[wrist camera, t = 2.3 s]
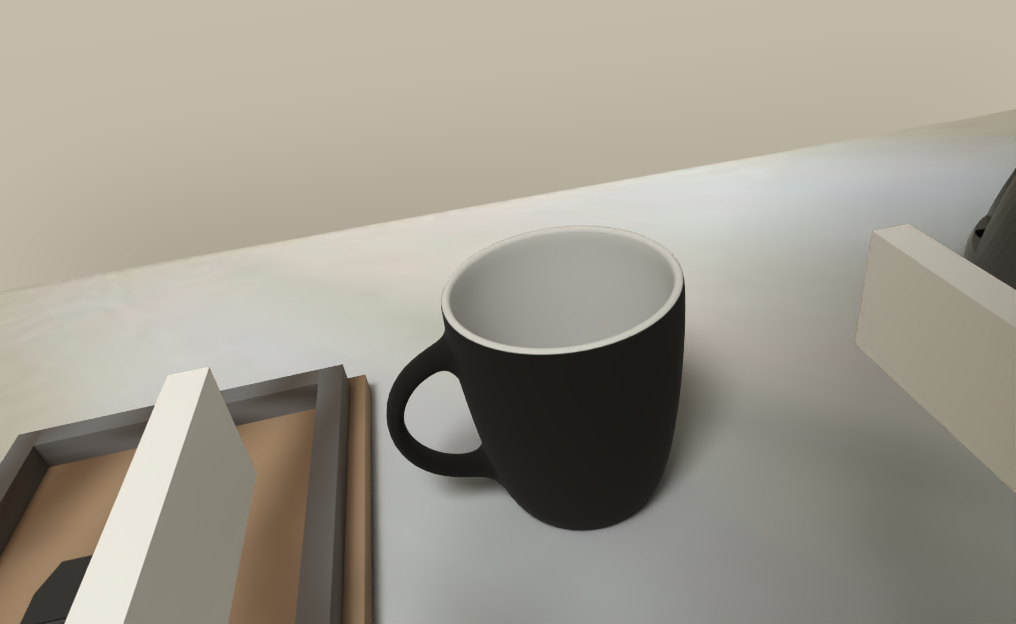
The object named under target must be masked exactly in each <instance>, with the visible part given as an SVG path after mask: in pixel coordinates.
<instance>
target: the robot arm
mask: <svg viewBox="0 0 1016 624" xmlns="http://www.w3.org/2000/svg"><path fill="white" fill-rule="evenodd" d="M855 344H856V345H857V346H858V347H859V348H860V349H861V350H862V351H863V352H864V353H865V354H866V355H868V356H869V357H870V358H871V359H872V360H873V361H874V362H875V363H876V364H877V365H878V366H879V367H880V368H881V369H883V370H884V371H885V372H886V373H887V374H888V375H889V376H890V377H891V378H892V379H893V380H894V381H895V382H896V383H898V384H899V385H900V386H901V387H902V388H903V389H904V390H905V391H906V392H907V393H908V394H909V395H910V396H911V397H913V398H914V399H915V400H916V401H917V402H918V403H919V404H920V405H921V406H922V407H923V408H924V409H925V410H926V411H928V412H929V413H930V414H931V415H932V416H933V417H934V418H935V419H936V420H937V421H938V422H939V423H940V424H942V425H943V426H944V427H945V428H946V429H947V430H948V431H949V432H950V433H951V434H952V435H953V436H954V437H955V438H957V439H958V440H959V441H960V442H961V443H962V444H963V445H964V446H965V447H966V448H967V449H968V450H969V451H970V452H972V453H973V454H974V455H975V456H976V457H977V458H978V459H979V460H980V461H981V462H982V463H983V464H984V465H985V466H987V467H988V468H989V469H990V470H991V471H992V472H993V473H994V474H995V475H996V476H997V477H998V478H999V479H1000V480H1002V481H1003V482H1004V483H1005V484H1006V485H1007V486H1008V487H1009V488H1010V489H1011V490H1012V491H1013V492H1014V493H1015V494H1016V169H1015V170H1014V172H1013V173H1012V174H1011V176H1010V177H1009V179H1008V180H1007V182H1006V183H1005V185H1004V186H1003V188H1002V190H1001V191H1000V193H999V194H998V196H997V198H996V199H995V201H994V203H993V204H992V206H991V208H990V210H989V212H988V214H987V215H986V216H985V217H983V218H982V219H981V220H980V221H979V223H978V224H977V225H976V227H975V228H974V229H973V231H972V233H971V235H970V237H969V239H968V241H967V244H966V247H965V252H964V256H963V257H961V256H960V255H958V254H957V253H955V252H953V251H952V250H950V249H949V248H947V247H945V246H944V245H942V244H940V243H939V242H937V241H936V240H934V239H932V238H931V237H929V236H927V235H926V234H924V233H923V232H921V231H919V230H918V229H916V228H915V227H913V226H911V225H910V224H904V225H900V226H895V227H890V228H885V229H880V230H875V231H872V237H871V244H870V250H869V256H868V263H867V269H866V276H865V282H864V288H863V295H862V301H861V308H860V314H859V321H858V327H857V333H856V340H855ZM256 475H257V473H256V471H255V468H254V466H253V464H252V462H251V459H250V457H249V455H248V453H247V450H246V448H245V446H244V444H243V442H242V439H241V437H240V435H239V433H238V430H237V428H236V426H235V424H234V421H233V419H232V417H231V415H230V412H229V410H228V408H227V406H226V404H225V401H224V399H223V397H222V395H221V392H220V390H219V388H218V386H217V383H216V381H215V379H214V377H213V374H212V372H211V370H210V368H209V367H206V368H201V369H196V370H192V371H187V372H182V373H177V374H172V375H167V378H166V380H165V382H164V385H163V387H162V390H161V392H160V395H159V397H158V399H157V402H156V404H155V407H154V409H153V411H152V414H151V416H150V419H149V421H148V423H147V426H146V428H145V431H144V433H143V436H142V438H141V440H140V443H139V445H138V448H137V450H136V452H135V455H134V457H133V460H132V462H131V464H130V467H129V469H128V472H127V474H126V477H125V479H124V481H123V484H122V486H121V489H120V491H119V493H118V496H117V498H116V501H115V503H114V505H113V508H112V510H111V513H110V515H109V518H108V520H107V522H106V525H105V527H104V530H103V532H102V534H101V537H100V539H99V542H98V544H97V546H96V549H95V551H94V554H93V555H89V556H85V557H80V558H76V559H71V560H67V561H62V562H61V563H60V565H59V566H58V567H57V568H56V569H55V570H54V572H53V573H52V574H51V575H50V576H49V577H48V578H47V580H46V581H45V582H44V583H43V584H42V585H41V587H40V588H39V589H38V590H37V591H36V592H35V593H34V595H33V597H32V599H31V601H30V604H29V606H28V608H27V610H26V612H25V614H24V616H23V618H22V620H21V623H20V624H228V621H229V616H230V610H231V605H232V600H233V595H234V589H235V584H236V579H237V574H238V569H239V563H240V558H241V553H242V548H243V543H244V537H245V532H246V527H247V522H248V516H249V511H250V506H251V501H252V496H253V490H254V485H255V480H256Z"/></svg>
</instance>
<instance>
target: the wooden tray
mask: <svg viewBox="0 0 1016 624" xmlns="http://www.w3.org/2000/svg"><path fill="white" fill-rule="evenodd" d="M220 392H221V395H222V397H223V399H224V401H225V404H226V406H227V408H228V410H229V412H230V415H231V417H232V419H233V421H234V424H235V426H236V428H237V430H238V433H239V435H240V437H241V439H242V442H243V444H244V446H245V448H246V450H247V453H248V455H249V457H250V459H251V462H252V464H253V466H254V468H255V471H256V473H257V475H256V480H255V485H254V490H253V496H252V501H251V506H250V511H249V516H248V522H247V527H246V532H245V537H244V543H243V548H242V553H241V558H240V563H239V569H238V574H237V579H236V584H235V589H234V595H233V600H232V605H231V610H230V616H229V621H228V624H372V494H371V391H370V388H369V385H368V382H367V379H366V375H361V376H357V377H352V378H348V379H347V376H346V373H345V370H344V367H343V364H342V365H337V366H333V367H328V368H324V369H319V370H315V371H310V372H305V373H301V374H296V375H292V376H287V377H282V378H278V379H273V380H269V381H264V382H259V383H255V384H250V385H246V386H241V387H236V388H232V389H227V390H223V391H220ZM154 407H155V405H154V406H149V407H144V408H140V409H135V410H131V411H126V412H121V413H117V414H112V415H108V416H103V417H99V418H94V419H89V420H85V421H80V422H76V423H71V424H66V425H62V426H57V427H53V428H48V429H43V430H39V431H34V432H30V433H25V434H20V435H18V437H17V438H16V440H15V442H14V443H13V445H12V446H11V448H10V450H9V451H8V453H7V454H6V456H5V457H4V459H3V461H2V462H1V464H0V624H20V623H21V620H22V618H23V616H24V614H25V612H26V610H27V608H28V606H29V604H30V601H31V599H32V597H33V595H34V593H35V592H36V591H37V590H38V589H39V588H40V587H41V585H42V584H43V583H44V582H45V581H46V580H47V578H48V577H49V576H50V575H51V574H52V573H53V572H54V570H55V569H56V568H57V567H58V566H59V565H60V563H61V562H62V561H67V560H71V559H76V558H80V557H85V556H89V555H93V554H94V551H95V549H96V546H97V544H98V542H99V539H100V537H101V534H102V532H103V530H104V527H105V525H106V522H107V520H108V518H109V515H110V513H111V510H112V508H113V505H114V503H115V501H116V498H117V496H118V493H119V491H120V489H121V486H122V484H123V481H124V479H125V477H126V474H127V472H128V469H129V467H130V464H131V462H132V460H133V457H134V455H135V452H136V450H137V448H138V445H139V443H140V440H141V438H142V436H143V433H144V431H145V428H146V426H147V423H148V421H149V419H150V416H151V414H152V411H153V409H154Z"/></svg>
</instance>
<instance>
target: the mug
mask: <svg viewBox="0 0 1016 624" xmlns="http://www.w3.org/2000/svg"><path fill="white" fill-rule="evenodd" d="M441 308H442V314H443V319H444V325H445V332H444V334H443V336H442V337H441V338H440V339H439V340H438V341H437V342H436V343H434V344H433V345H431V346H430V347H428V348H427V349H426V350H424V351H423V352H421V353H420V354H419V355H418V356H416V357H415V358H414V359H413V360H412V361H411V362H410V363H409V364H408V365H407V366H405V368H404V369H403V370H402V371H401V373H400V374H399V375H398V377H397V379H396V380H395V382H394V384H393V386H392V389H391V391H390V393H389V398H388V402H387V415H386V416H387V425H388V429H389V432H390V435H391V438H392V440H393V442H394V444H395V446H396V447H397V448H398V450H399V451H400V452H401V454H402V455H403V456H404V457H405V458H406V459H407V460H409V461H410V462H411V463H413V464H414V465H415V466H417V467H419V468H421V469H423V470H425V471H428V472H431V473H434V474H438V475H443V476H450V477H486V478H491V479H494V480H496V481H498V482H499V483H500V484H501V485H502V486H503V487H504V488H505V489H506V490H507V492H508V493H509V494H510V495H511V497H512V498H513V499H514V500H515V501H516V502H517V503H518V504H519V505H520V506H521V507H522V508H523V509H524V510H525V511H527V512H528V513H529V514H531V515H532V516H534V517H535V518H537V519H539V520H541V521H543V522H545V523H547V524H550V525H553V526H556V527H560V528H565V529H573V530H588V529H596V528H602V527H605V526H609V525H612V524H615V523H617V522H619V521H622V520H623V519H625V518H627V517H629V516H630V515H632V514H633V513H634V512H636V511H637V510H638V509H639V508H641V507H642V506H643V505H644V504H645V502H646V501H647V500H648V499H649V497H650V496H651V495H652V493H653V492H654V490H655V489H656V487H657V485H658V484H659V482H660V479H661V477H662V475H663V473H664V469H665V466H666V463H667V460H668V457H669V453H670V449H671V445H672V440H673V435H674V429H675V423H676V417H677V411H678V404H679V396H680V387H681V377H682V366H683V353H684V336H685V283H684V277H683V272H682V269H681V266H680V264H679V262H678V261H677V259H676V258H675V257H674V256H673V254H672V253H670V252H669V251H668V250H667V249H666V248H665V247H663V246H662V245H660V244H659V243H657V242H655V241H654V240H652V239H650V238H647V237H645V236H643V235H640V234H637V233H634V232H630V231H626V230H622V229H616V228H610V227H601V226H564V227H554V228H547V229H541V230H536V231H532V232H527V233H524V234H520V235H517V236H513V237H510V238H508V239H505V240H502V241H500V242H497V243H495V244H493V245H491V246H489V247H487V248H485V249H483V250H481V251H479V252H478V253H476V254H475V255H473V256H472V257H470V258H469V259H467V260H466V261H465V262H464V263H462V264H461V265H460V266H459V267H458V268H457V269H456V270H455V272H454V273H453V274H452V275H451V277H450V278H449V280H448V281H447V283H446V285H445V287H444V290H443V292H442V298H441ZM440 371H449V372H451V373H453V374H454V375H455V376H456V377H457V378H458V379H459V381H460V384H461V387H462V389H463V392H464V395H465V398H466V401H467V404H468V407H469V410H470V412H471V415H472V418H473V421H474V423H475V426H476V428H477V431H478V433H479V436H480V438H481V441H482V444H481V446H480V447H479V448H478V449H477V450H475V451H473V452H469V453H464V454H449V453H442V452H438V451H435V450H432V449H430V448H427V447H426V446H424V445H422V444H421V443H419V442H418V441H417V440H415V439H414V438H413V437H412V436H411V435H410V433H409V432H408V430H407V428H406V426H405V423H404V411H405V407H406V404H407V402H408V400H409V397H410V396H411V394H412V393H413V391H414V390H415V389H416V388H417V387H418V385H419V384H420V383H422V382H423V381H424V380H425V379H427V378H428V377H429V376H431V375H433V374H435V373H437V372H440Z"/></svg>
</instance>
